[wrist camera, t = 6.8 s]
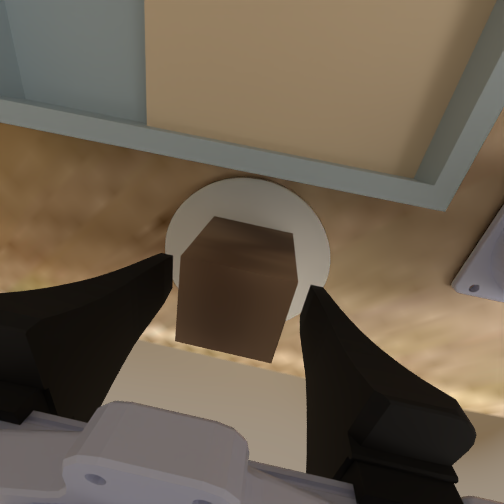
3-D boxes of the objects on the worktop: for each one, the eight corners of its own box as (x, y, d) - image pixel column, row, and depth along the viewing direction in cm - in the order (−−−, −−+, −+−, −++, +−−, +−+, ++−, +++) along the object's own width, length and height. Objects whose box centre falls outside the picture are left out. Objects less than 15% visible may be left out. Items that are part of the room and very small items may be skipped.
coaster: (353, 197, 13) (356, 199, 12) (303, 333, 17) (303, 340, 17) (170, 160, 13) (165, 161, 12) (167, 304, 17) (164, 309, 17)
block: (292, 233, 13) (298, 282, 9) (274, 297, 15) (271, 363, 11) (214, 215, 13) (180, 256, 9) (206, 281, 15) (175, 341, 11)
